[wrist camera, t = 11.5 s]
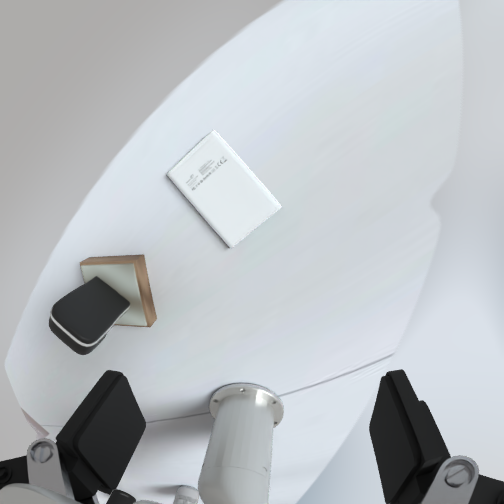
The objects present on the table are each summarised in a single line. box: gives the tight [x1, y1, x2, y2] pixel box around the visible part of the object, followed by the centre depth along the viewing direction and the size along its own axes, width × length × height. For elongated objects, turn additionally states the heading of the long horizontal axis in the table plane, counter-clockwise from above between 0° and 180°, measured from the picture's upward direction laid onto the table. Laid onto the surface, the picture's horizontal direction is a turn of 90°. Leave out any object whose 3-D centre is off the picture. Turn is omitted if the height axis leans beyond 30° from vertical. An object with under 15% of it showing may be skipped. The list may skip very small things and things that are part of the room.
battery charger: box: [49, 276, 130, 355], centre depth 33 cm, size 7×4×11 cm, turn 55°
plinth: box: [80, 255, 157, 327], centre depth 39 cm, size 10×10×3 cm
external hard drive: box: [167, 130, 282, 248], centre depth 35 cm, size 2×8×12 cm
